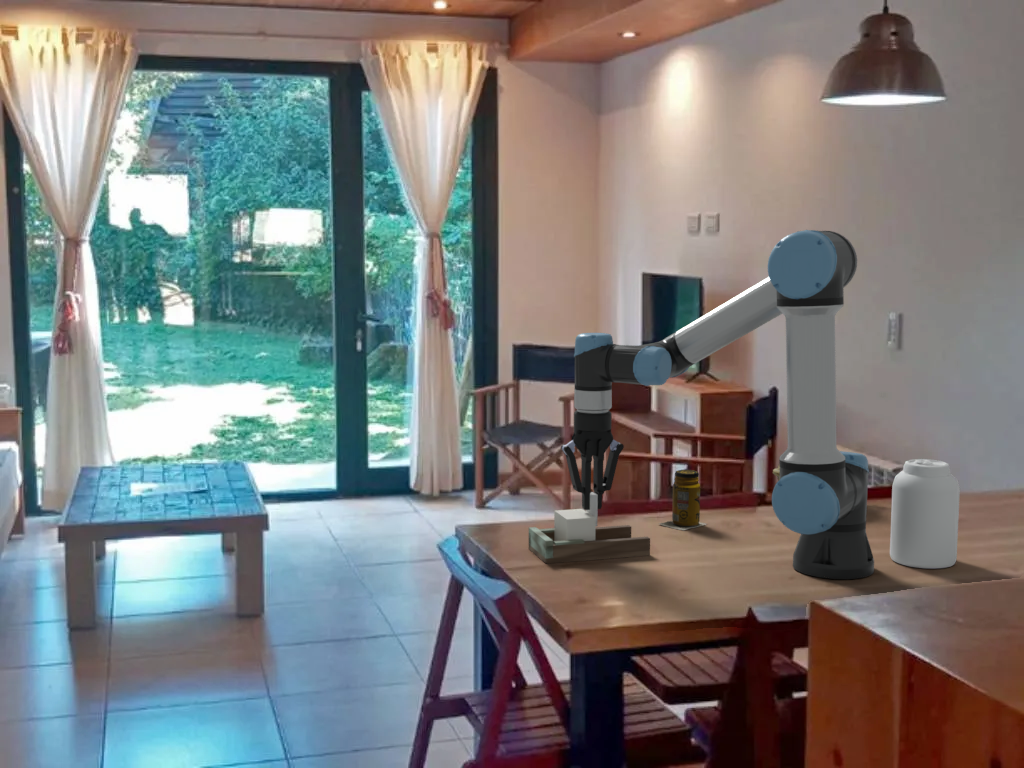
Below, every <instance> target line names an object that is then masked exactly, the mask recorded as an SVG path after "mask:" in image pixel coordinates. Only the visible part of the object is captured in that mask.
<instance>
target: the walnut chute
mask: <svg viewBox="0 0 1024 768" xmlns="http://www.w3.org/2000/svg"><path fill="white" fill-rule="evenodd" d="M528 550H530V552H531V553H533V554H534V555H535V556H536V557H538V558H539V560H541V561H543V563H545V564H547V565H548V564H558V563H571V562H583V561H595V560H606V559H607V560H608V559H619V558H633V557H643V556H644V557H646V556H651V537H649V536H637V537H636V536H635V537H632V526H631V525H630V524H624V525H611V526H609V525H608V526H595V540H594V541H584V540H583V539H575V540H562V541H554V527H550V528H549V527H548V528H538V527H536V526H529V527H528Z"/></svg>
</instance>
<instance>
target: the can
mask: <svg viewBox="0 0 1024 768" xmlns="http://www.w3.org/2000/svg"><path fill="white" fill-rule="evenodd" d="M902 467H903V469H902V470H901V471H900V472H898V473H897V474H896V475H895V477H894V479H893V481H892V482H893V483H892V484H891V485H892V487H891V488H892V489H891V509H890V510H891V511H890V512H891V514H890V515H891V516H890V536H889V537H890V541H889V557H890V558H891V560H892V561H894V562H895V563H897V564H899V565H903V566H905V567H906V566H907V567H911V568H915V569H924V570H925V569H927V570H928V569H930V570H931V569H932V570H935V569H946V568H949V567H952V566H955V564H956V561H957V560H958V559H957V556H958V540H959V539H958V537H959V536H958V534H959V517H960V516H959V512H960V495H961V494H960V493H961V491H960V490H961V488H960V487H961V486H960V484H959V480H958V479H957V477H955V476H954V475H953V474H952V473H951V466H950V464H949V463H948V462H945V461H942V460H938V459H937V460H936V459H930V458H929V459H928V458H917V459H915V458H913V459H908V460H906V461H905V462H904V464H903V465H902Z"/></svg>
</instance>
